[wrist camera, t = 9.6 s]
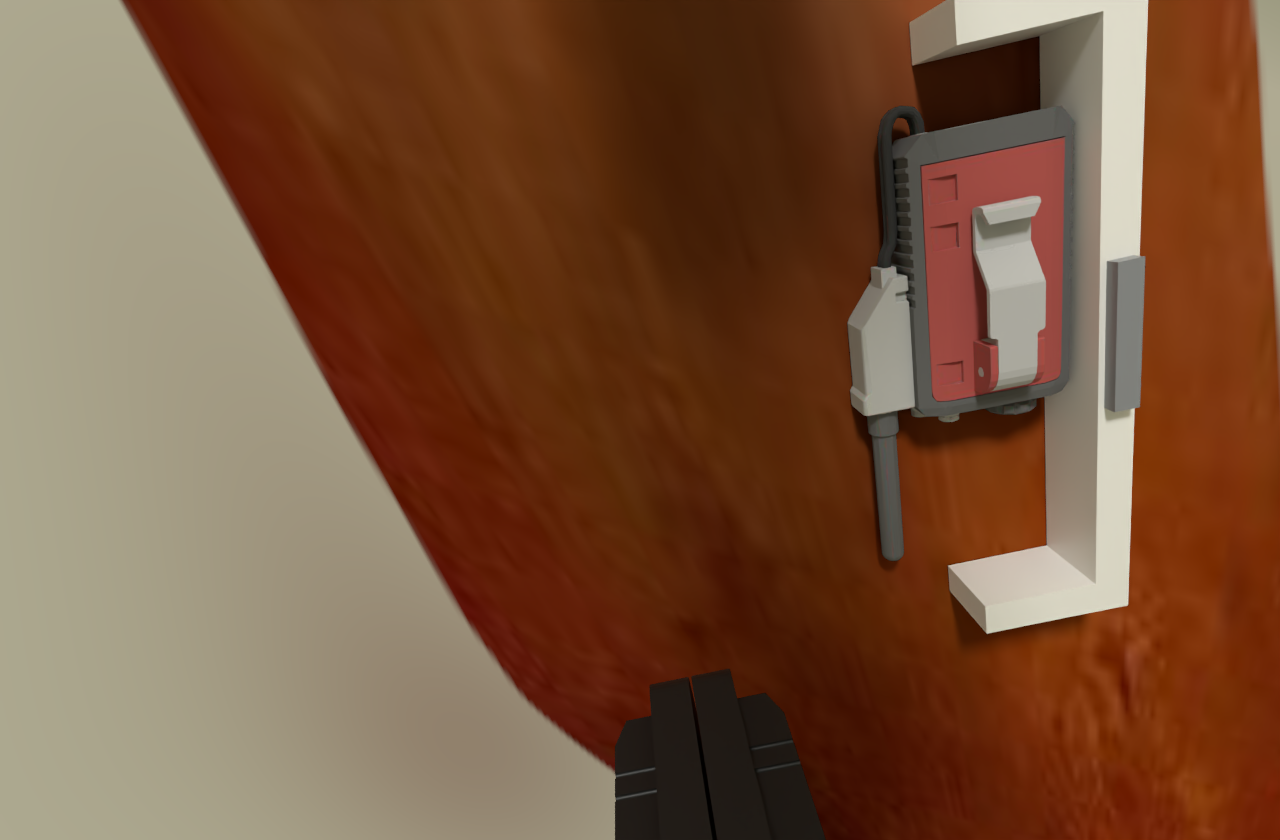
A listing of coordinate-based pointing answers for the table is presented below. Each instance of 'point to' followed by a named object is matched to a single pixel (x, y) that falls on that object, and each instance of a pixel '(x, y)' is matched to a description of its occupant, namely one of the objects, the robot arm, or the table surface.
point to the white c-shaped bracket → (1075, 302)
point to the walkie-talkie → (964, 280)
